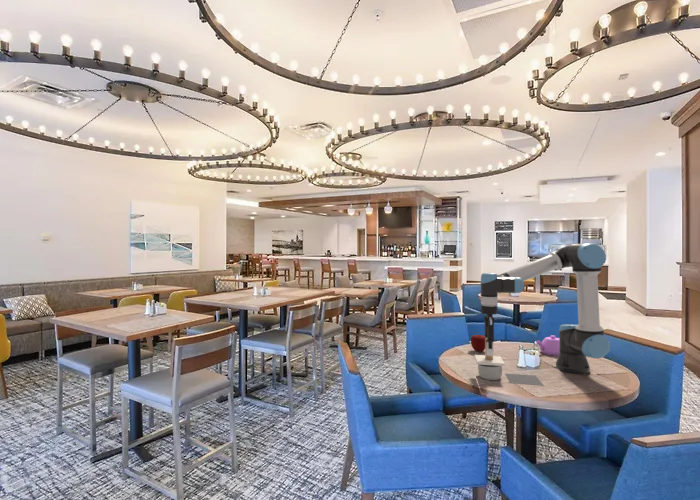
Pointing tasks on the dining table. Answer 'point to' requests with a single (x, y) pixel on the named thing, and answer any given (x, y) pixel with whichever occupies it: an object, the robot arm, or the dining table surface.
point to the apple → (478, 343)
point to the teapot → (550, 345)
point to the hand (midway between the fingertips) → (489, 353)
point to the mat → (523, 379)
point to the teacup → (490, 372)
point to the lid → (489, 358)
